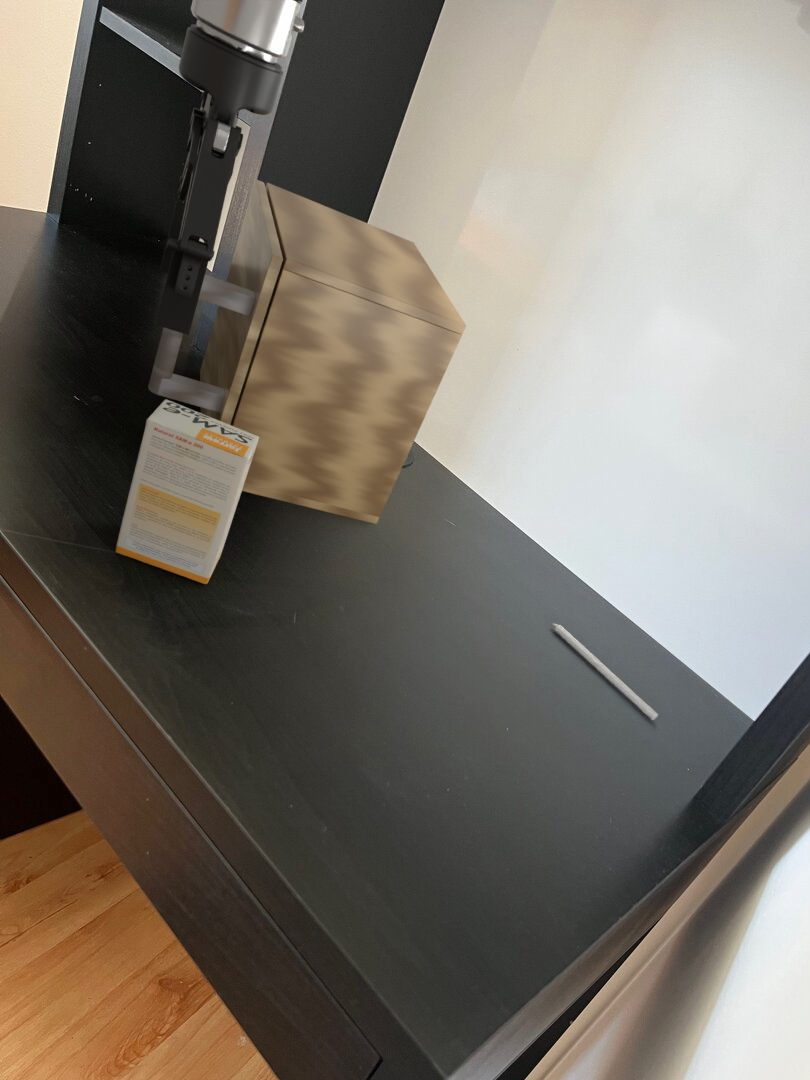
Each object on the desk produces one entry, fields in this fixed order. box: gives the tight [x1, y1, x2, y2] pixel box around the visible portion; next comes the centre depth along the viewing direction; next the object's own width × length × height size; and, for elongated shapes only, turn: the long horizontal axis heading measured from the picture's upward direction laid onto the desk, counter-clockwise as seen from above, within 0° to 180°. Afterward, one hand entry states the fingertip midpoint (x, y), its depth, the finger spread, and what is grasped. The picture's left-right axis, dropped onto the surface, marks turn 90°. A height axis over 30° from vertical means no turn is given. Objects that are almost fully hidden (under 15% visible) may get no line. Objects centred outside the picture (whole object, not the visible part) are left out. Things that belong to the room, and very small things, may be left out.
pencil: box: [552, 622, 659, 721], centre depth 89 cm, size 1×1×15 cm
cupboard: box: [230, 182, 467, 525], centre depth 94 cm, size 18×26×24 cm
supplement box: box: [115, 399, 259, 585], centre depth 71 cm, size 8×5×13 cm, turn 88°
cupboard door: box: [147, 179, 283, 425], centre depth 88 cm, size 8×26×24 cm, turn 14°
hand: (173, 300), depth 77 cm, fingers open, 13 cm apart
